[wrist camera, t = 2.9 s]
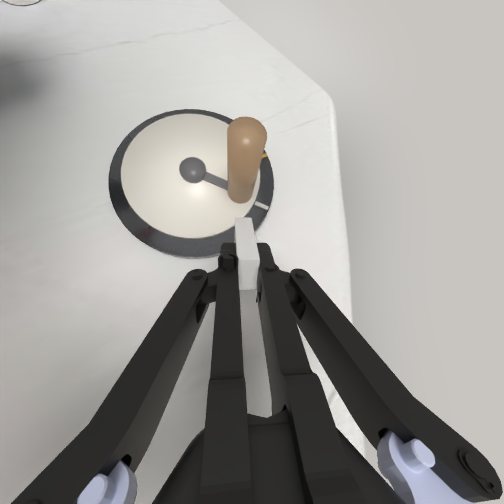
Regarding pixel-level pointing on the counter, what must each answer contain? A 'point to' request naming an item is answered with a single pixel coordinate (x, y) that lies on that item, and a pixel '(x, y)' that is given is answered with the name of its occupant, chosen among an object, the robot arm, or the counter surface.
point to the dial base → (174, 244)
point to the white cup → (21, 2)
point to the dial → (194, 173)
